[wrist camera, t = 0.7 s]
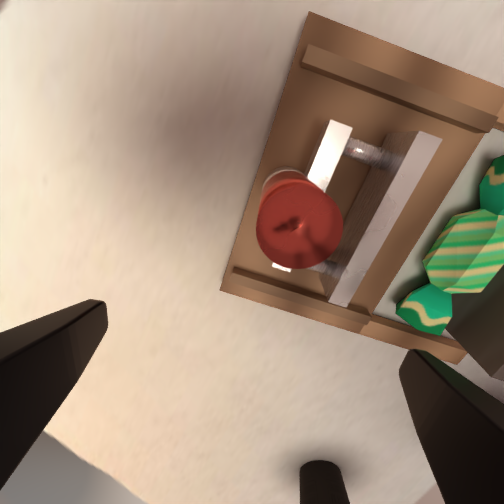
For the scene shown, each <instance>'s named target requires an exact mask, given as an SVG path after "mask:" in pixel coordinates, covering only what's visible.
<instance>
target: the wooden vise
mask: <svg viewBox="0 0 504 504" xmlns="http://www.w3.org/2000/svg"><path fill="white" fill-rule="evenodd" d="M329 120H333V121H336V122H338V123H341V124H344V125H347V126H349V127H352V128H353V129H352V131H351V133H350V136H351V137H354V138H356V139H359V140H362V141H365V142H367V143H370V144H373V145H376V146H378V147H381V146H382V144H383V142H384V140H385V138H386V136H387V134H388V133H399V132H409V131H422V132H425V133H427V134H430V135H433V136H436V137H438V138H441V139H443V140H442V142H441V143H440V145H439V147H438V149H437V150H436V152H435V154H434V156H433V157H432V159H431V161H430V162H429V164H428V166H427V168H426V169H425V171H424V173H423V175H422V176H421V178H420V180H419V182H418V183H417V185H416V187H415V189H414V190H413V192H412V194H411V196H410V197H409V199H408V201H407V203H406V204H405V206H404V208H403V210H402V211H401V213H400V215H399V217H398V218H397V220H396V222H395V224H394V225H393V227H392V229H391V231H390V232H389V234H388V236H387V238H386V239H385V241H384V243H383V245H382V246H381V248H380V250H379V252H378V253H377V255H376V257H375V258H374V260H373V262H372V264H371V265H370V267H369V269H368V271H367V272H366V274H365V276H364V278H363V279H362V281H361V283H360V285H359V286H358V288H357V290H356V292H355V293H354V295H353V297H352V299H351V300H350V302H349V304H348V306H347V307H342V306H339V305H336V304H333V303H330V302H328V300H327V297H326V295H325V292H324V289H323V287H322V284H321V281H320V279H319V276H318V275H319V272H316V271H312V270H309V269H306V268H305V269H291V271H290V272H288V271H284V270H281V269H278V268H275V267H272V261H271V260H270V259H269V258H268V257H267V256H266V255H265V254H264V253H263V251H262V250H261V248H260V246H259V244H258V241H257V237H256V222H257V217H258V211H259V205H260V199H261V193H262V187H263V183H264V181H265V179H266V177H267V176H268V174H269V173H270V172H272V171H273V170H275V169H277V168H279V167H283V166H289V167H294V168H296V169H298V170H299V171H301V172H302V173H303V174H304V173H305V170H306V168H307V165H308V163H309V160H310V157H311V155H312V152H313V150H314V147H315V145H316V142H317V140H318V137H319V135H320V132H321V129H322V127H323V124H324V122H326V121H329ZM492 127H493V128H496V129H498V130H501V131H504V88H503V87H500V86H498V85H495V84H493V83H490V82H487V81H485V80H482V79H480V78H477V77H475V76H472V75H470V74H467V73H465V72H462V71H460V70H457V69H454V68H452V67H449V66H447V65H444V64H442V63H439V62H437V61H434V60H432V59H429V58H427V57H424V56H421V55H419V54H416V53H414V52H411V51H409V50H406V49H404V48H401V47H399V46H396V45H394V44H391V43H389V42H386V41H383V40H381V39H378V38H376V37H373V36H371V35H368V34H366V33H363V32H361V31H358V30H356V29H353V28H350V27H348V26H345V25H343V24H340V23H338V22H335V21H333V20H330V19H328V18H325V17H323V16H320V15H317V14H315V13H312V12H310V11H309V12H308V16H307V19H306V22H305V25H304V28H303V31H302V34H301V37H300V41H299V44H298V47H297V50H296V53H295V56H294V59H293V62H292V66H291V69H290V72H289V75H288V78H287V81H286V84H285V87H284V90H283V94H282V97H281V100H280V103H279V106H278V109H277V112H276V115H275V119H274V122H273V125H272V128H271V131H270V134H269V137H268V140H267V144H266V147H265V150H264V153H263V156H262V159H261V162H260V165H259V169H258V172H257V175H256V178H255V181H254V184H253V187H252V190H251V193H250V197H249V200H248V203H247V206H246V209H245V212H244V215H243V218H242V222H241V225H240V228H239V231H238V234H237V237H236V240H235V243H234V247H233V250H232V253H231V256H230V259H229V262H228V265H227V268H226V272H225V275H224V278H223V281H222V284H221V287H220V291H223V292H226V293H230V294H233V295H236V296H239V297H242V298H246V299H249V300H252V301H255V302H258V303H262V304H265V305H268V306H271V307H274V308H278V309H281V310H284V311H287V312H290V313H294V314H297V315H300V316H303V317H306V318H309V319H313V320H316V321H319V322H322V323H325V324H329V325H332V326H335V327H338V328H341V329H345V330H348V331H351V332H354V333H357V334H361V335H364V336H367V337H370V338H373V339H377V340H380V341H383V342H386V343H389V344H393V345H396V346H399V347H402V348H405V349H408V350H410V349H420V350H425V351H428V352H429V353H431V354H432V355H433V356H435V357H436V358H438V359H440V360H444V361H447V362H450V363H453V364H456V365H457V364H458V363H459V362H460V361H461V360H462V359H463V358H464V356H465V355H466V354H467V353H469V354H470V355H471V356H472V357H473V358H474V359H475V360H476V362H477V363H478V364H479V365H480V366H481V367H482V368H483V369H484V370H485V371H486V372H487V373H488V374H489V375H490V376H491V377H493V378H496V379H499V380H502V381H504V265H503V266H502V267H501V268H500V269H499V271H498V272H497V273H496V274H495V276H494V277H493V278H492V279H491V281H490V282H489V283H488V284H487V285H486V287H485V288H484V289H483V290H482V292H478V293H455V294H451V295H452V318H451V319H450V321H449V322H448V324H447V325H446V327H445V329H446V330H447V331H448V332H449V333H450V334H451V335H452V336H453V337H454V338H455V340H456V341H455V340H452V339H449V338H445V337H442V336H438V335H434V334H430V333H427V332H423V331H419V330H417V329H415V328H414V327H411V326H408V325H405V324H402V323H399V322H395V321H392V320H389V319H386V318H383V317H380V316H377V315H374V314H372V312H373V311H374V309H375V308H376V306H377V305H378V303H379V301H380V300H381V298H382V297H383V295H384V293H385V292H386V290H387V289H388V287H389V285H390V284H391V282H392V281H393V279H394V277H395V276H396V274H397V273H398V271H399V270H400V268H401V266H402V265H403V263H404V262H405V260H406V258H407V257H408V255H409V254H410V252H411V250H412V249H413V247H414V246H415V244H416V242H417V241H418V239H419V238H420V236H421V235H422V233H423V231H424V230H425V228H426V227H427V225H428V223H429V222H430V220H431V219H432V217H433V215H434V214H435V212H436V211H437V209H438V207H439V206H440V204H441V203H442V201H443V200H444V198H445V196H446V195H447V193H448V192H449V190H450V188H451V187H452V185H453V184H454V182H455V180H456V179H457V177H458V176H459V174H460V173H461V171H462V169H463V168H464V166H465V165H466V163H467V161H468V160H469V158H470V157H471V155H472V153H473V152H474V150H475V149H476V147H477V145H478V144H479V142H480V141H481V139H482V138H483V136H484V134H485V133H489V132H490V130H491V129H492ZM370 168H371V166H370V165H367V164H365V163H362V162H359V161H356V160H354V159H351V158H348V157H345V156H342V155H341V156H340V159H339V161H338V163H337V166H336V168H335V170H334V172H333V175H332V177H331V179H330V182H329V184H328V186H327V188H326V191H325V193H326V194H327V195H328V196H330V197H331V198H332V199H333V200H334V202H335V203H336V204H337V206H338V208H339V210H340V212H341V215H342V219H343V224H344V222H345V220H346V218H347V215H348V213H349V211H350V209H351V207H352V205H353V203H354V201H355V199H356V197H357V195H358V193H359V191H360V189H361V187H362V185H363V183H364V181H365V179H366V177H367V175H368V173H369V171H370Z"/></svg>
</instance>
